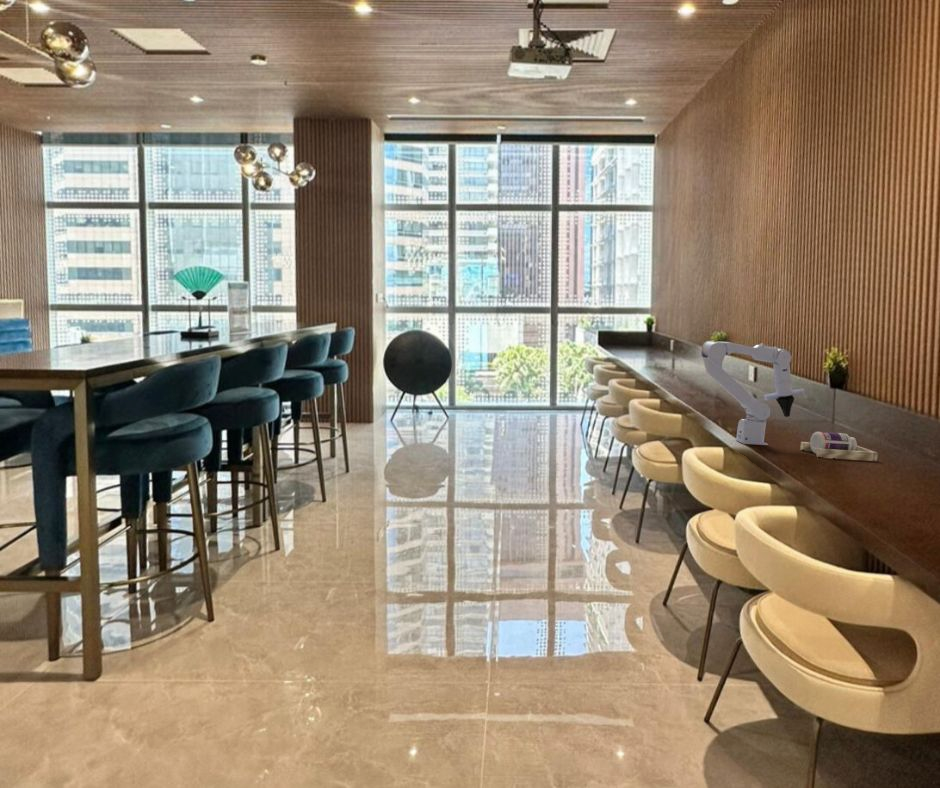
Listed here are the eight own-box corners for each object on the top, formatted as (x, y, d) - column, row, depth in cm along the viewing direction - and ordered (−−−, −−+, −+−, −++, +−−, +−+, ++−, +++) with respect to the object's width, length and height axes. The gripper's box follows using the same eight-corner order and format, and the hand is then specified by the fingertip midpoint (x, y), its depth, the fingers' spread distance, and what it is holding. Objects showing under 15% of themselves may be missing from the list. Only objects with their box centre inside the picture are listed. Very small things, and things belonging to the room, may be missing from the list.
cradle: (818, 457, 275) (819, 449, 275) (800, 449, 288) (801, 441, 288) (876, 461, 277) (877, 452, 277) (855, 453, 290) (857, 445, 289)
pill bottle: (809, 454, 285) (845, 457, 287) (821, 452, 277) (859, 455, 279) (808, 432, 286) (844, 435, 288) (821, 430, 278) (858, 432, 280)
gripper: (767, 385, 289) (771, 421, 290) (806, 378, 288) (810, 414, 290) (760, 382, 296) (764, 417, 297) (798, 376, 295) (802, 411, 297)
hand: (786, 416), depth 294 cm, fingers closed
